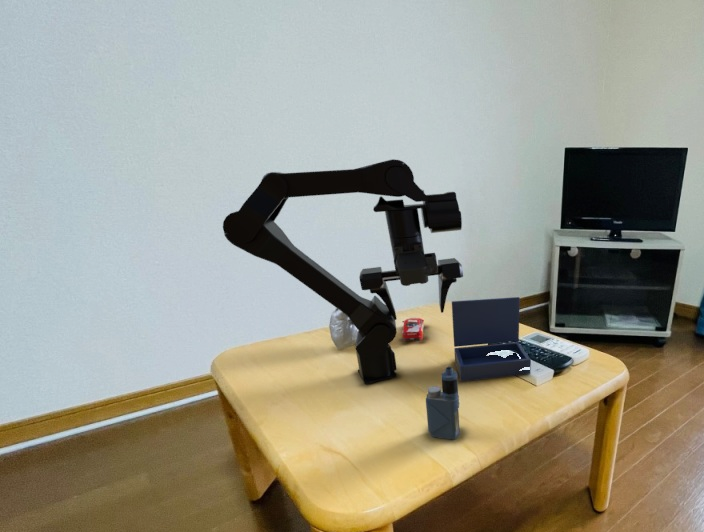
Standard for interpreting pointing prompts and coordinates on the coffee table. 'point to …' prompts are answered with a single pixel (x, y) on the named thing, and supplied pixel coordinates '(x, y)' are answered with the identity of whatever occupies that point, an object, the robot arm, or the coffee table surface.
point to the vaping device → (444, 407)
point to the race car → (413, 329)
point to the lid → (485, 321)
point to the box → (490, 361)
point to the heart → (342, 330)
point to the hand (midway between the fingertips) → (419, 315)
